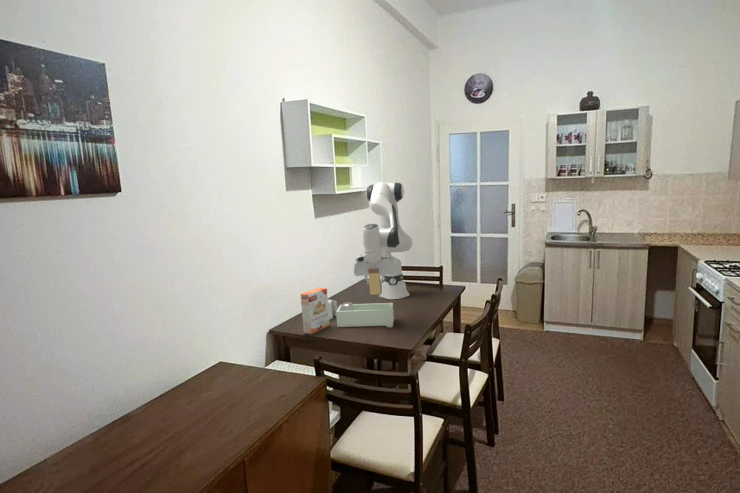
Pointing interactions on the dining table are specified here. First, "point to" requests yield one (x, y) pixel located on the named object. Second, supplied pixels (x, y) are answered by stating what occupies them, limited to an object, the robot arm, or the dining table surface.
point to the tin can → (347, 306)
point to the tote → (366, 315)
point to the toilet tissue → (332, 308)
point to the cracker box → (315, 310)
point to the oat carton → (374, 281)
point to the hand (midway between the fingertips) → (374, 283)
